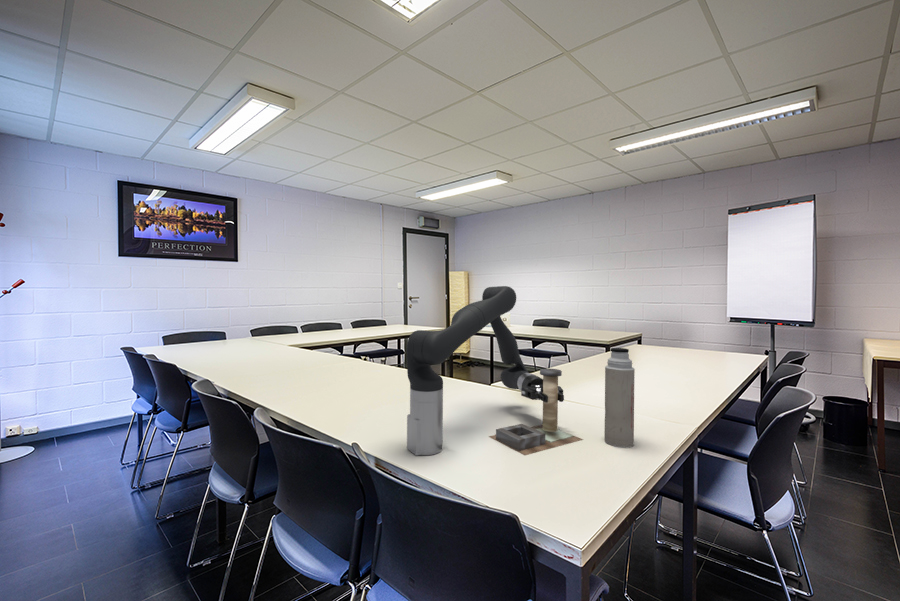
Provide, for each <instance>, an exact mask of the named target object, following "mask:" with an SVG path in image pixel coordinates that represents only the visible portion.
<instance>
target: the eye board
mask: <svg viewBox="0 0 900 601" xmlns="http://www.w3.org/2000/svg"><path fill="white" fill-rule="evenodd" d="M488 438H490V439H492V440H494V441H495V442H497V443H500V444H501V445H504V446H505V447H508V448H509V449H512V450H514V451H515V452H517V453H519V454H520V455H523V456H528V455H532V454H537V453H540V452H543V451H547V450H551V449H554V448H558V447H561V446H564V445H565V446H566V445H569V444H572V443H573V444H574V443H576V442H579V441H583V440H584V438H581V437H578V436H576V435H574V434H571V433H569V432H567V431H564V430H562V429H558V428H557V431H554V432H550V431H545V430H543V423H542V424H540V425H539V424H538V425H533V426H528V425H526V424H524V423H519V424H518V423H517V424H515V425H511V426H509V425H508V426H504V427H499V428H496V429H495V434H493V435H488Z"/></svg>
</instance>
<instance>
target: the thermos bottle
mask: <svg viewBox="0 0 900 601" xmlns="http://www.w3.org/2000/svg"><path fill="white" fill-rule="evenodd" d="M629 352H630V349H628V348H622V347H612V348H610V357H609V358H608V359H607V362H606V363H607V365H605V366H604V372H605V373H604V437H603V438H604V442H605V443H606V444H607V445H610V446H613V447H618V448H632V447H633V446H634V442H635V441H634V440H635V439H634V438H635V434H634V433H635V432H634V431H635V374H636V373H635V370H636V369H635V368H634V367H633V360H632V359H630V355H629V354H630V353H629Z"/></svg>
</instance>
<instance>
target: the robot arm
mask: <svg viewBox="0 0 900 601" xmlns="http://www.w3.org/2000/svg"><path fill="white" fill-rule="evenodd" d="M516 303H517V294H516V290H514V289H513V288H512V287H511V286H506V285H502V286H501V285H499V286H489V287H486V288H485V289H484V290H483V292H482V298H481V300H477V301H474V302H471V303H468V304H466V305H465V306H463V307H461V308H460V309H458V310H457V311H456V312H454V314H453V316H452V318H451V322H450V325H449V326H448V327H446V328H444V329H442V330H420V329H419V330H418V329H417V330H414V331H413V332H412V333H411V334H410V335H409V337H408V339H407V343H406V364H407V365H406V367H407V369H406V370H407V371H406V372H407V378H408V381H409V390H410V391H409V414H407V415H406V449H407V450H408V451H410V452H411V453H412V454H413V455H415V456H430V455H436V454H439V453H440V452H442V451H443V443H444V441H443V439H444V438H443V433H444V432H443V428H444V426H443V425H444V421H443V420H444V418H443V417H444V380H443V377H442V376H441V375H439V374H438V373H437V372H436V371H434V369H433V368H432V366H431V365H433V366H434V365H435V366H436V365H440V364H443V363H444V362H445V361H447V359H449V357H451V356H452V355H453V354H454V353H455V351H457V349H458V348H459V347H460V346H462V345H463V344H464V343H465V342H468V340H470V338H472V337H474V336H475V335H476V334H477V333H479V332H480V331H482V330H483V329H484V328H485V327H487V326H488V325H489V324H490V326H491V328H492V331H493V333H494V335H495V339H496V341H497V342H496V343H497V344H498V349H499V350H498V351H499V354H500V359H501V361H502V363H503V364H504V365H514V366H511V367H508V368H504V370H502V371H501V373H500V380H501V383H502V384H503V385H504V386H505V387H507V388H508V389H512V390H518V391H520V395H521V396H522V397H525V398H527V399H529V400H534V401H542V403H543V402H545V403H547V402H548V395H546V394H544V393H543V377H539V376H538V375H536V374H533V373H530V372H529V370H528V369H527V368H526V366H525V364H524V362H523V360H522V357H521V355H520V350H519V346H518V342H517V339H516V338H515V335H514V334H513V333H512V331H511V330H510V329H509V328H508V326H507V325H506V323H505V322H504V321H503V319H502V317H501V316H503V315H505V314H506V313H509V312H510V311H512V310H513V309H514V308H515V306H516ZM564 401H565V395H564V390H563V387H561V386H559V385H558V402H561V403H562V402H564Z"/></svg>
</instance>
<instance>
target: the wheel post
mask: <svg viewBox="0 0 900 601" xmlns="http://www.w3.org/2000/svg"><path fill="white" fill-rule="evenodd" d="M562 372H563V371H562V370H561V369H558V368H541V369H539V374H540V375H541V376H542V379H543V393H544V394H546V395H548V402H547V403H545V402H543V401H542V424H543V430H545V431H550V432H554V431H557V429H558V419H559V418H558V417H559V416H558V413H559V408H558V407H559V401H558V386H559V377H561V376H563V375H562Z"/></svg>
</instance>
